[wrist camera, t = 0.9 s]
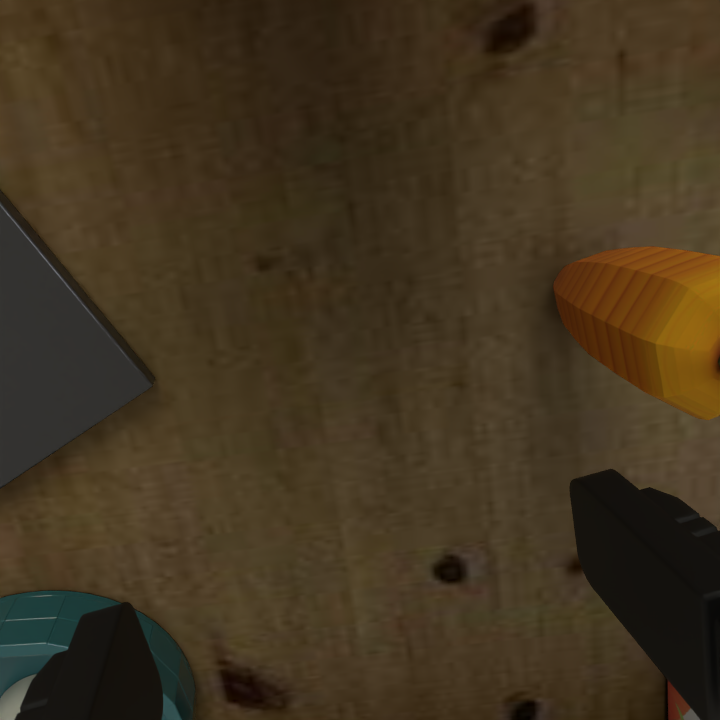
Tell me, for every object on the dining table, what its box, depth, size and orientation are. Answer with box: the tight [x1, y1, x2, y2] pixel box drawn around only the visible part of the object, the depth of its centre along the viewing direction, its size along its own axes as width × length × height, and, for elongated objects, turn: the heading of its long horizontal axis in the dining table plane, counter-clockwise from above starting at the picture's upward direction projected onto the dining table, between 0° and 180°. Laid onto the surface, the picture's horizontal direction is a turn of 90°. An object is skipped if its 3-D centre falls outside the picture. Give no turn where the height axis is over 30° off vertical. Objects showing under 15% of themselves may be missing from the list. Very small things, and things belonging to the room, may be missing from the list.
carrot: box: [553, 246, 720, 420], centre depth 22 cm, size 5×5×15 cm
